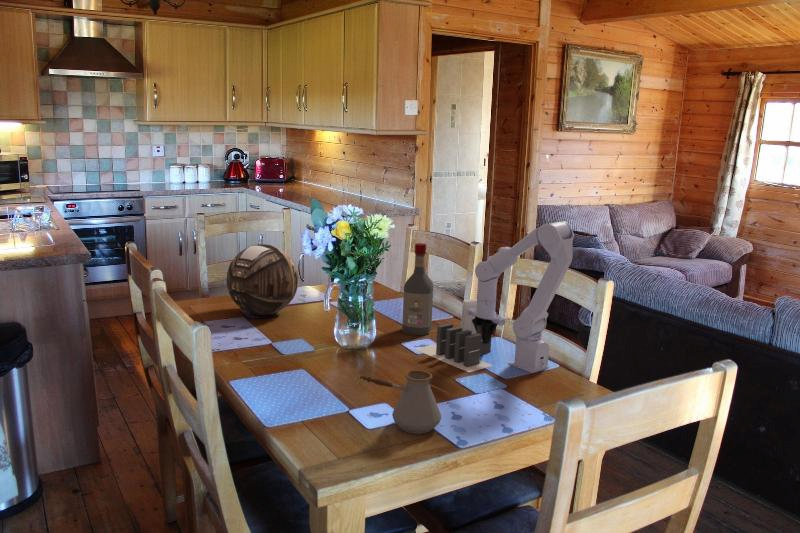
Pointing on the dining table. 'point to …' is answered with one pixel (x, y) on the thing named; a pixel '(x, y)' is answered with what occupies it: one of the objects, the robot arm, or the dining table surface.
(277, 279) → the sphere
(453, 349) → the domino
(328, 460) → the dining table surface
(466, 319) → the cream rounded block
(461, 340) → the domino
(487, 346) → the domino
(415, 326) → the liquor
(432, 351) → the domino board
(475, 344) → the domino
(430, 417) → the coffee pot
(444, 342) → the domino
